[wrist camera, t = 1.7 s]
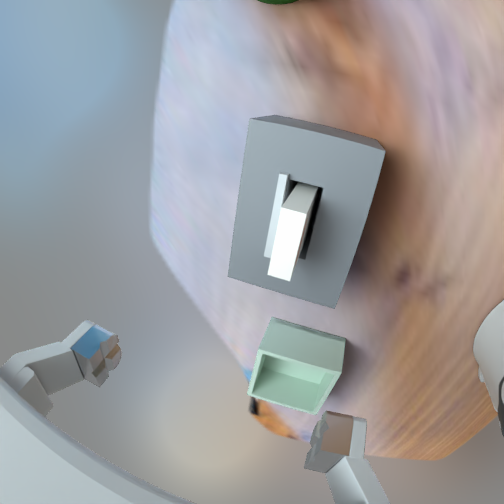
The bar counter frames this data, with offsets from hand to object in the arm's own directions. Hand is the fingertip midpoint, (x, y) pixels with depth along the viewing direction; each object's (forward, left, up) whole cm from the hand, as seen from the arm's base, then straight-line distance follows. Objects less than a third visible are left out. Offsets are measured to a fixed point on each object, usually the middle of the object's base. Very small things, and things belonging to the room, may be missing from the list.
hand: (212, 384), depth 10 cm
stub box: (-4, +22, -24) cm, 33 cm away
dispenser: (0, 0, -24) cm, 24 cm away
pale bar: (0, 0, -22) cm, 22 cm away
